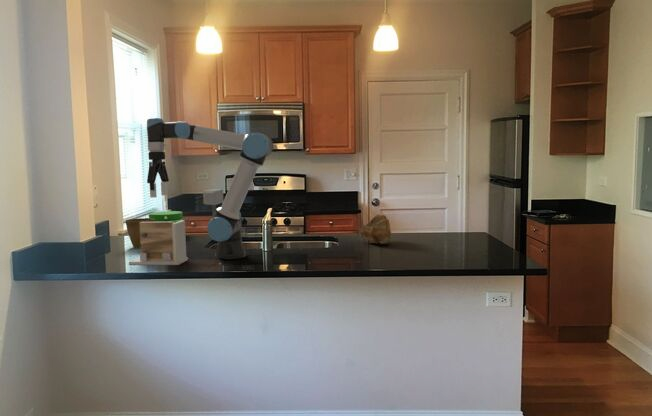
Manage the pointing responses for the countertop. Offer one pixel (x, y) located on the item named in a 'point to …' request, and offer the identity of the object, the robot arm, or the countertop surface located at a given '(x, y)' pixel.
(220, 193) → the hammer
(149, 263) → the cabinet base
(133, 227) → the plant pot
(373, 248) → the countertop surface
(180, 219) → the tank
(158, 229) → the maple door
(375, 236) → the rough brown rock
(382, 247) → the countertop surface
